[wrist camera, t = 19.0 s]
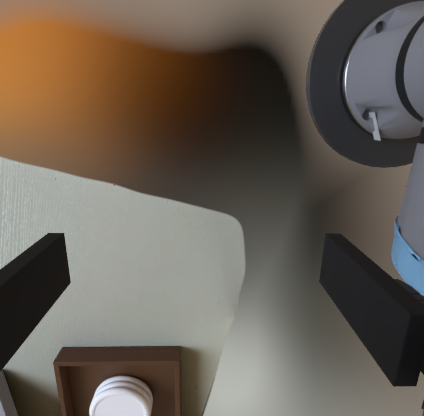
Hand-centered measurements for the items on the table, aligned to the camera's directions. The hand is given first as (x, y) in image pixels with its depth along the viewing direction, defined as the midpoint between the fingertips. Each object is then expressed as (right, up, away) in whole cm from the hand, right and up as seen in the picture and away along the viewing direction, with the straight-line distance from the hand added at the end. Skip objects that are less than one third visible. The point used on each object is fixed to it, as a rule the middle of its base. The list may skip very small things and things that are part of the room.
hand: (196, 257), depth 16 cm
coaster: (-14, -30, +38) cm, 51 cm away
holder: (-14, -30, +39) cm, 51 cm away
